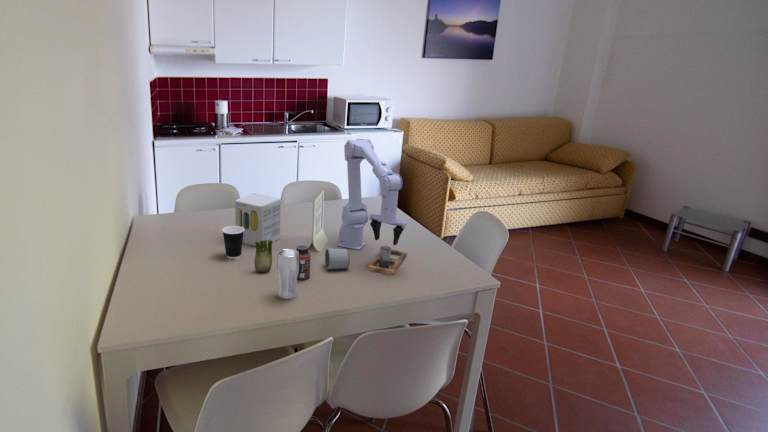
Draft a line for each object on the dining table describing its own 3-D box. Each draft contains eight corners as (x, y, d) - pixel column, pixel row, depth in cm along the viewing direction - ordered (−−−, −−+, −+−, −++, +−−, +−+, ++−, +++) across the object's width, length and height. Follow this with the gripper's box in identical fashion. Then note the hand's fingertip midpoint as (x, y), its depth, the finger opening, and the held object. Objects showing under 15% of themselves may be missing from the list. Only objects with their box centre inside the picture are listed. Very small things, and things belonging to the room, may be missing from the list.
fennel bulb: (272, 268, 178) (272, 238, 175) (270, 274, 174) (270, 243, 170) (256, 267, 178) (256, 237, 174) (253, 273, 173) (253, 242, 170)
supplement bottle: (306, 281, 171) (307, 251, 167) (290, 279, 172) (290, 249, 168) (312, 274, 176) (313, 245, 173) (296, 272, 177) (297, 242, 174)
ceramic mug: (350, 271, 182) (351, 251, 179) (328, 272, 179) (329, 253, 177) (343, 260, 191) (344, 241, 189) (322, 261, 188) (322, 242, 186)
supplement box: (234, 241, 200) (233, 200, 194) (254, 231, 211) (254, 192, 206) (262, 248, 195) (262, 206, 190) (280, 238, 207) (281, 198, 201)
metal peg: (376, 267, 186) (378, 248, 184) (381, 264, 190) (383, 245, 187) (386, 270, 185) (388, 250, 182) (391, 267, 188) (392, 247, 185)
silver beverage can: (278, 289, 164) (278, 247, 159) (299, 290, 165) (300, 248, 160) (275, 299, 157) (275, 256, 152) (297, 300, 158) (298, 257, 153)
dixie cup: (243, 251, 190) (243, 225, 187) (245, 260, 183) (245, 232, 180) (222, 253, 188) (221, 226, 184) (223, 261, 181) (222, 233, 177)
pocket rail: (367, 269, 184) (367, 266, 183) (383, 251, 202) (383, 247, 202) (392, 275, 181) (393, 271, 181) (406, 255, 199) (407, 252, 199)
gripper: (411, 208, 180) (408, 243, 184) (376, 200, 186) (374, 234, 190) (403, 213, 174) (400, 249, 178) (367, 205, 180) (365, 239, 184)
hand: (386, 242), depth 184 cm, fingers open, 7 cm apart
